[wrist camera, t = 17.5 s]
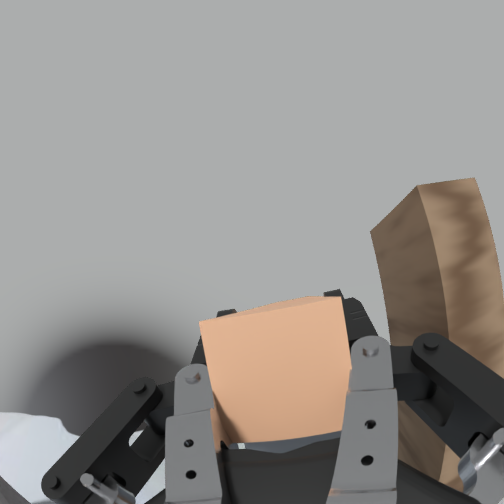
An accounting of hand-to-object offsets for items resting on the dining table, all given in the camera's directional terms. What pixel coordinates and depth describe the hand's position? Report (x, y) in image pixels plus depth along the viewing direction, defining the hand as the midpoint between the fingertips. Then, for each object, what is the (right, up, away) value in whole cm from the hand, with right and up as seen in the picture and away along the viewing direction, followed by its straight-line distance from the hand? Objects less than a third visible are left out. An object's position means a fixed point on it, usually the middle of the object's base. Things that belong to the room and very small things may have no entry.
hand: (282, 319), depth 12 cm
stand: (+19, -24, +4) cm, 31 cm away
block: (+2, -5, +7) cm, 9 cm away
